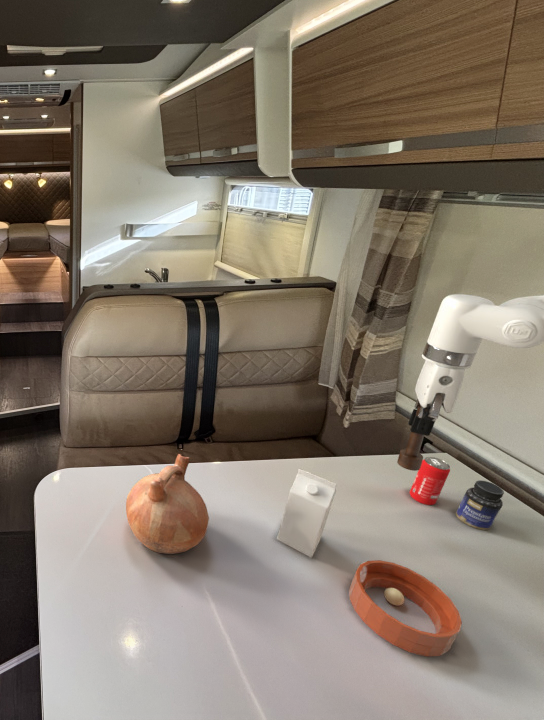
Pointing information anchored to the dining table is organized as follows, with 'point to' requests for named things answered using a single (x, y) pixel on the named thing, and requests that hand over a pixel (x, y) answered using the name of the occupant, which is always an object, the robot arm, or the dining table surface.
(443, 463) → the beverage can
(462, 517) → the pill bottle
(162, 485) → the jug
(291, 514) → the milk carton
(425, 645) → the ring
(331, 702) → the dining table surface
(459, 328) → the robot arm
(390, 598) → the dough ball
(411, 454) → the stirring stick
